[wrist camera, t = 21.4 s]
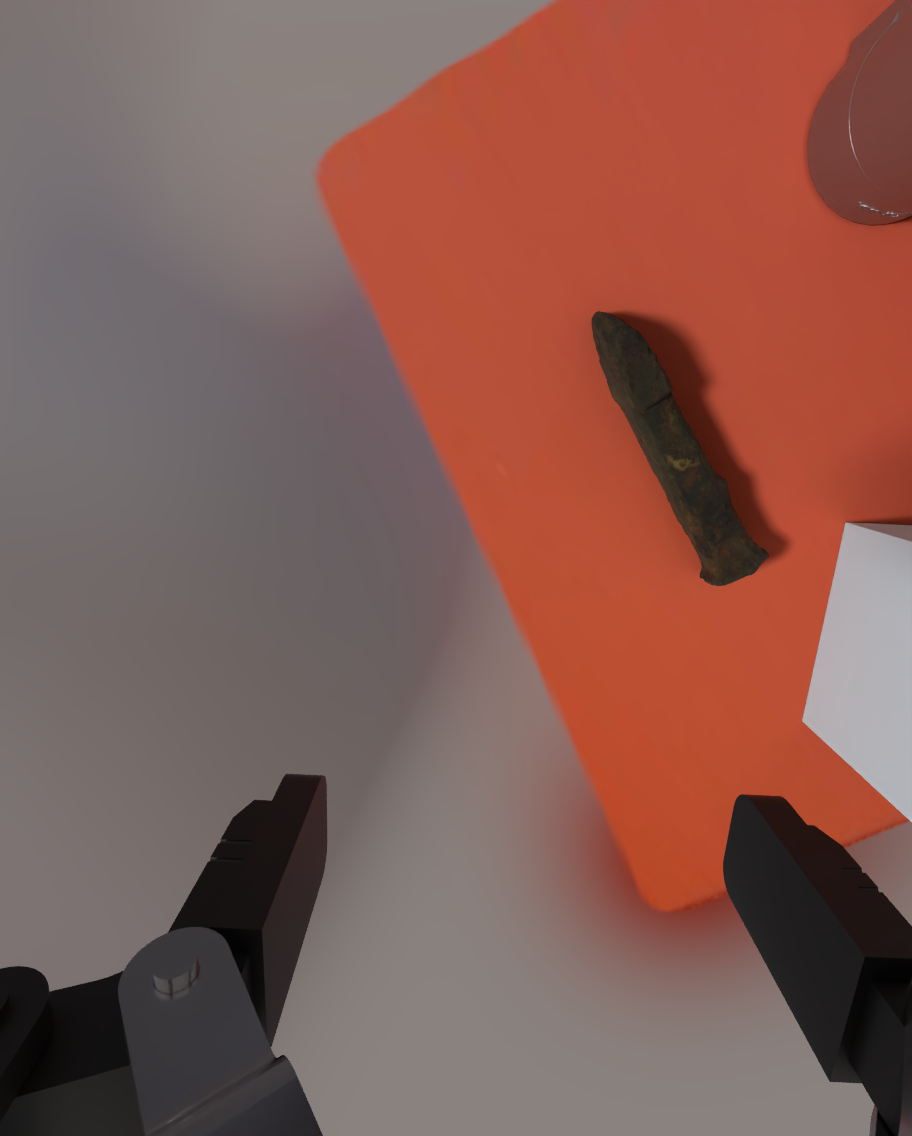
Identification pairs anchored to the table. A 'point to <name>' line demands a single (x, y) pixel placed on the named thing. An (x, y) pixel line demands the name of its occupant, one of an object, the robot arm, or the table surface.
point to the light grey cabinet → (868, 660)
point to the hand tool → (675, 453)
